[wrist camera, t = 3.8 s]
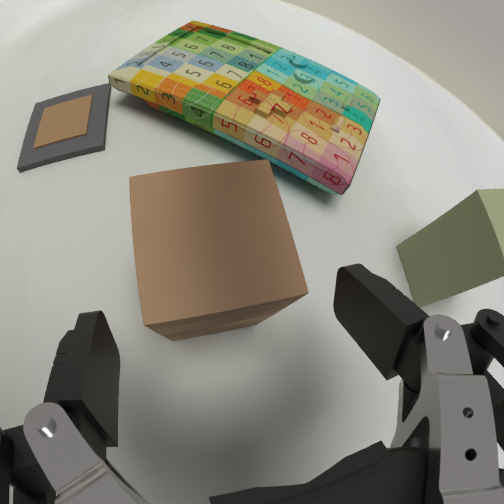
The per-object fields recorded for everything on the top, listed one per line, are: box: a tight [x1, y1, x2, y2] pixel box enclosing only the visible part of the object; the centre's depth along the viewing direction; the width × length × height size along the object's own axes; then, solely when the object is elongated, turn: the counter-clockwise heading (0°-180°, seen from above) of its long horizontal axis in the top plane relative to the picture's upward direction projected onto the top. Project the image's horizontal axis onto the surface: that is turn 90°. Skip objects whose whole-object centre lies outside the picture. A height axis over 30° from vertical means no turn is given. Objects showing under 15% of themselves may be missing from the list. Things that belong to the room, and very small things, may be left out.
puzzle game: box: [108, 21, 381, 195], centre depth 22 cm, size 12×5×20 cm
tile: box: [17, 83, 111, 172], centre depth 20 cm, size 8×8×1 cm
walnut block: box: [129, 159, 308, 341], centre depth 13 cm, size 5×5×9 cm
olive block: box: [396, 189, 504, 307], centre depth 17 cm, size 5×5×9 cm
